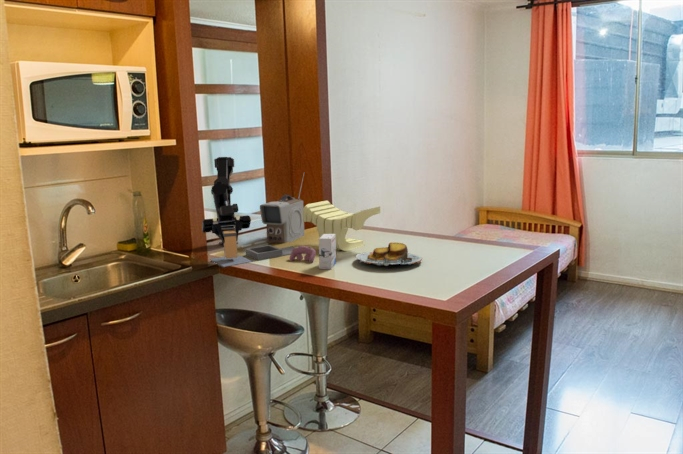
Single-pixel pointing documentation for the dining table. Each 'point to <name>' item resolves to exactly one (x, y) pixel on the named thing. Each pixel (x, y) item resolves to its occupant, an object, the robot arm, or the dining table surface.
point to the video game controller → (303, 250)
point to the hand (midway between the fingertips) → (230, 241)
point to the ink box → (327, 251)
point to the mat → (230, 261)
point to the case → (268, 252)
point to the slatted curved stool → (337, 222)
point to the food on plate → (389, 255)
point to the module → (230, 244)
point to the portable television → (283, 219)
